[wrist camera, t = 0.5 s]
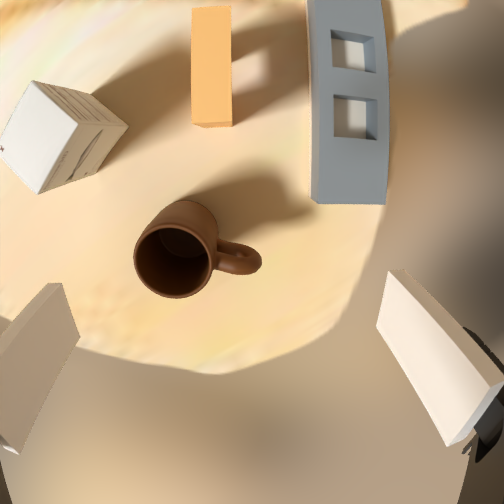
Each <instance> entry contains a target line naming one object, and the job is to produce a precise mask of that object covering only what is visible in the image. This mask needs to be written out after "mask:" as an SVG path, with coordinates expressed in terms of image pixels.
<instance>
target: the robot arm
mask: <svg viewBox="0 0 504 504" xmlns="http://www.w3.org/2000/svg"><path fill="white" fill-rule="evenodd" d="M376 328H377V329H378V331H379V332H380V334H381V335H382V337H383V339H384V340H385V342H386V343H387V345H388V346H389V348H390V350H391V351H392V352H393V354H394V356H395V358H396V359H397V361H398V362H399V364H400V366H401V367H402V369H403V371H404V372H405V374H406V375H407V377H408V379H409V380H410V382H411V384H412V385H413V387H414V389H415V391H416V392H417V394H418V395H419V397H420V399H421V401H422V403H423V404H424V406H425V408H426V409H427V411H428V413H429V415H430V416H431V418H432V420H433V422H434V424H435V425H436V427H437V429H438V431H439V433H440V434H441V436H442V438H443V440H444V442H445V444H446V446H447V447H448V446H450V445H452V444H455V443H457V442H459V441H461V440H463V439H464V438H465V437H466V436H467V435H468V434H469V432H470V431H471V430H472V429H473V427H474V429H475V430H476V432H477V434H476V435H475V436H474V437H473V439H472V440H471V441H470V442H469V443H468V444H467V445H466V446H465V448H464V449H463V452H462V454H465V453H466V451H467V450H468V449H469V448H470V447H471V446H472V447H471V451H470V452H469V454H468V455H470V457H469V462H468V466H467V471H466V475H465V479H464V482H463V486H462V490H461V493H460V497H459V500H458V503H457V504H504V365H503V364H502V363H501V362H500V360H499V359H498V358H497V357H496V356H495V355H494V353H493V352H490V349H489V348H488V347H487V346H486V345H484V343H483V341H482V340H481V339H480V338H479V337H478V336H477V335H476V334H475V333H473V332H472V331H470V330H469V329H467V328H465V327H461V326H460V325H459V324H458V323H457V321H456V320H455V319H454V318H453V317H452V316H451V315H450V314H449V313H448V312H447V311H446V310H445V309H444V308H443V307H442V306H441V305H440V304H439V303H438V302H437V301H436V300H435V299H434V298H433V297H432V296H431V295H430V294H429V293H428V292H427V291H426V290H425V289H424V288H423V287H422V286H421V285H420V284H419V283H418V282H417V281H415V279H413V278H412V277H411V276H410V275H409V274H408V273H407V272H406V271H405V270H404V269H402V270H390V271H388V275H387V280H386V285H385V290H384V295H383V300H382V304H381V308H380V313H379V317H378V321H377V325H376ZM79 338H80V335H79V332H78V330H77V327H76V324H75V322H74V319H73V316H72V313H71V310H70V307H69V304H68V301H67V298H66V295H65V292H64V289H63V285H62V283H48V284H47V285H46V286H45V287H44V288H43V289H42V290H41V291H40V292H39V293H38V294H37V295H36V296H35V297H34V298H33V299H32V300H31V301H30V303H29V304H28V305H27V306H26V307H25V308H24V309H23V310H22V311H21V312H20V314H19V315H18V316H17V317H16V318H15V319H14V320H13V322H12V323H11V324H10V325H9V326H8V327H7V329H6V330H5V331H4V332H3V333H2V335H1V336H0V444H1V445H2V446H3V447H4V448H5V449H7V450H9V451H12V452H14V453H16V454H18V455H20V454H21V451H22V449H23V447H24V444H25V442H26V440H27V438H28V435H29V433H30V431H31V429H32V426H33V424H34V422H35V420H36V418H37V416H38V414H39V412H40V410H41V408H42V406H43V404H44V402H45V400H46V398H47V396H48V394H49V392H50V390H51V388H52V386H53V384H54V382H55V380H56V379H57V377H58V375H59V373H60V371H61V370H62V368H63V366H64V364H65V362H66V361H67V359H68V357H69V355H70V354H71V352H72V350H73V348H74V347H75V345H76V343H77V342H78V340H79ZM0 504H12V501H11V498H10V495H9V492H8V488H7V485H6V482H5V478H4V475H3V471H2V466H1V462H0Z"/></svg>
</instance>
